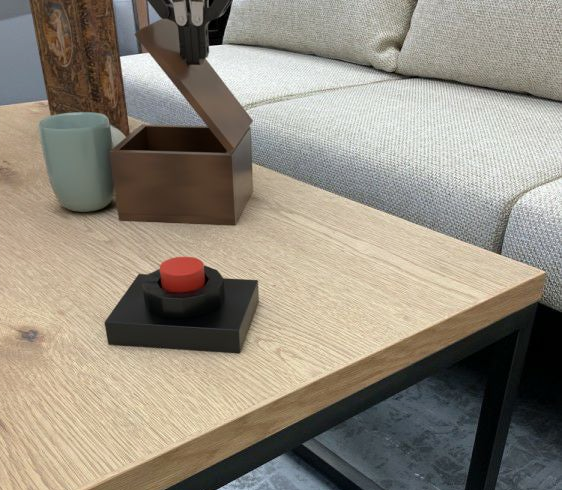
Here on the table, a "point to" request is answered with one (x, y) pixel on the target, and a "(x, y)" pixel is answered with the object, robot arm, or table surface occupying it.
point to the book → (81, 58)
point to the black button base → (184, 314)
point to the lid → (197, 84)
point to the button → (182, 274)
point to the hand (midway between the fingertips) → (195, 63)
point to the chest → (181, 175)
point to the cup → (78, 159)
